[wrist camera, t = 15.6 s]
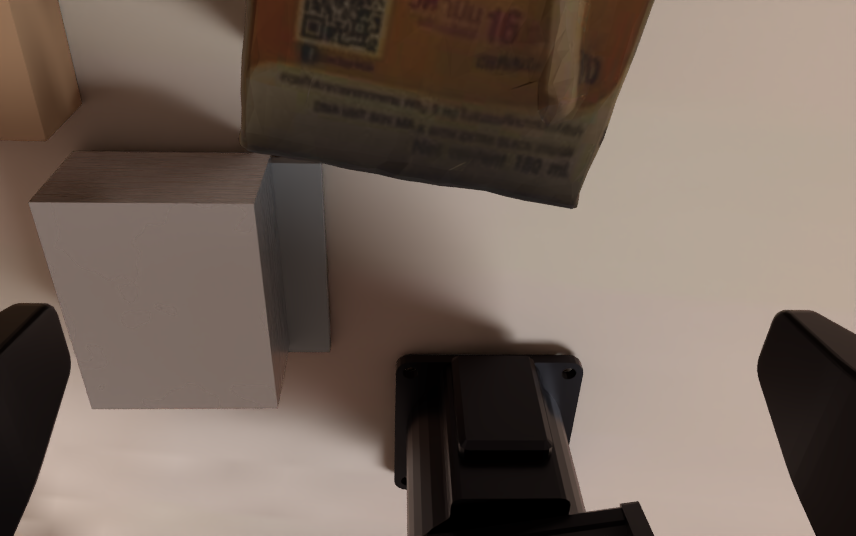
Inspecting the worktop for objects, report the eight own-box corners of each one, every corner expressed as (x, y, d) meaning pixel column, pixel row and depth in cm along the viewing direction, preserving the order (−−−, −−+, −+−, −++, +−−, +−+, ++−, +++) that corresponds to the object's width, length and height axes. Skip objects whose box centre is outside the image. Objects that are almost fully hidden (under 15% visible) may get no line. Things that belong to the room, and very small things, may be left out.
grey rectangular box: (289, 344, 25) (277, 408, 22) (123, 344, 25) (92, 409, 22) (270, 152, 21) (253, 203, 18) (72, 150, 21) (28, 202, 18)
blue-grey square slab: (330, 344, 25) (329, 352, 25) (123, 343, 25) (119, 351, 25) (321, 157, 22) (320, 163, 21) (76, 153, 21) (70, 159, 21)
